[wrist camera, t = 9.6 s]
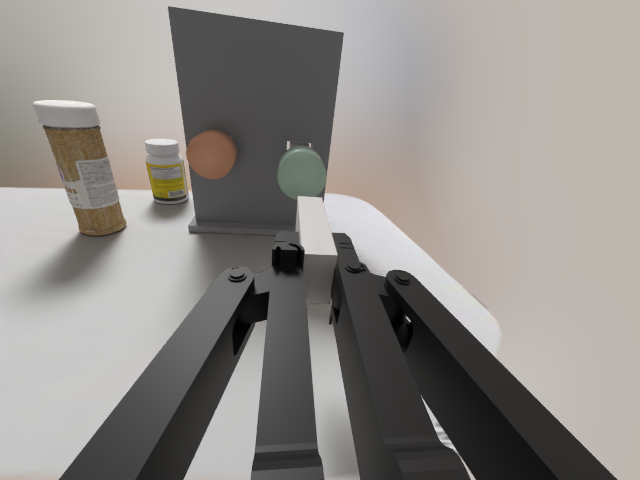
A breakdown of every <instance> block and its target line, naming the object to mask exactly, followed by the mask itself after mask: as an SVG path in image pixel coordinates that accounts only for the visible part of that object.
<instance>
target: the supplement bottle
mask: <svg viewBox="0 0 640 480" xmlns="http://www.w3.org/2000/svg"><path fill="white" fill-rule="evenodd" d="M145 145H146V151H147V153H149V155H148V156H147V157H146V164H147V169H148V173H149V178H150V183H151V188H152V192H153V197H154V200H155V201H156V202H158V203H161V204H177V203H181V202H184V201H186V200H187V199H188V197H189V195H188V188H187V182H186V176H185V168H184V161H183V158H182V156H181V155H179V154H178V153H179V147H178V142H177V141H175V140H170V139H151V140H147V141H145Z"/></svg>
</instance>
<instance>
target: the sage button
mask: <svg viewBox="0 0 640 480" xmlns="http://www.w3.org/2000/svg"><path fill="white" fill-rule="evenodd" d="M278 183H279V186H280V188H281V189H282V191H283V192H284V193H285V194H286V195H287V196H289V197H290V198H292V199H295V200H298V196H305V197H316V196H317V195H318V194H319V193H320V192H321V191H322V190H323V188H324V186H325V183H326V170H325V167H324V165H323V162H322V160H321V158H320V156H319V154H318V153H317V152H316V151H315V150H313V149H312V148H310V147H309V144H308V143H304V142H293V141H290V149H288V150H287V151H285V153H284V154H283V155H282V157H281V159H280V161H279V167H278Z"/></svg>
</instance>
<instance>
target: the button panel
mask: <svg viewBox="0 0 640 480" xmlns="http://www.w3.org/2000/svg"><path fill="white" fill-rule="evenodd" d="M168 11H169V19H170V26H171V33H172V41H173V49H174V57H175V63H176V71H177V79H178V87H179V94H180V102H181V109H182V117H183V124H184V132H185V140H186V148H187V146H188V144H189V142H190V141H191V140H192V139H193V138H194V137H196V136H197V135H199V134H201V133H202V132H204V131H206V130H211V129H216V130H220V131H223V132H225V133H226V134H228V135H229V136H232V139H233V141H234V142H235V144H236V147H237V151H238V156H237V160H236V162H235V164H234V165H233V167H232V168H231V170H230V171H229V173H228V174H227V175H225V176H224V177H222V178H219V179H208V178H205V177H202V176H200V175H199V174H197V173H196V172H195V171H194V170H193V169H192V168H191V166H190V165H189V170H190V178H191V186H192V193H193V201H194V208H195V217H194V218H193V220H192V221H191V223H190V224H189V225H188V228H189V232H210V233H232V234H255V235H277V234H278V232H279V231H291V232H295V230H296V215H297V201H298V200H295V199H292V198H290V197H289V196H287V195H286V194H285V193H284V192H283V191H282V189H281V188H280V186H279V183H278V167H279V161H280V159H281V157H282V155H283V154H284V153H285V151H287V149H286V148H287V141H293V142H304V143H311V148H312V149H313V150H315V151H316V152H317V153H318V154H319V156H320V158H321V160H322V162H323V165H324V167H325V170H326V176H327V168H328V160H329V152H330V143H331V135H332V126H333V118H334V110H335V101H336V93H337V85H338V76H339V68H340V60H341V51H342V43H343V35H344V33H342V32H335V31H328V30H322V29H315V28H309V27H302V26H296V25H288V24H282V23H275V22H268V21H262V20H256V19H249V18H242V17H235V16H228V15H221V14H216V13H208V12H202V11H196V10H189V9H182V8H176V7H168ZM325 185H326V183H325ZM324 194H325V186H324V188H323V190H322V191H321V192H320V193H319V194H318V195H317V196H316V197H320V198H322V200H323V202H324Z"/></svg>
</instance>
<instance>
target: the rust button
mask: <svg viewBox="0 0 640 480" xmlns="http://www.w3.org/2000/svg"><path fill="white" fill-rule="evenodd" d="M186 156H187V160H188V162H189V165H190V166H191V168H192V169H193V170H194V171H195V172H196V173H197V174H199V175H200V176H202V177H205V178H208V179H219V178H222V177H224V176H225V175H227V174H228V173H229V171H230V170H231V168H232V167H233V165H234V164H235V162H236V160H237V156H238V151H237V147H236V144H235V142H234V141H233V139H232V136H229V135H228V134H226V133H225V132H223V131H220V130H216V129H211V130H206V131H204V132H202V133H201V134H199V135H197V136H196V137H194V138H193V139H192V140H191V141H190V142H189V144H188V146H187V150H186Z"/></svg>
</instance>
